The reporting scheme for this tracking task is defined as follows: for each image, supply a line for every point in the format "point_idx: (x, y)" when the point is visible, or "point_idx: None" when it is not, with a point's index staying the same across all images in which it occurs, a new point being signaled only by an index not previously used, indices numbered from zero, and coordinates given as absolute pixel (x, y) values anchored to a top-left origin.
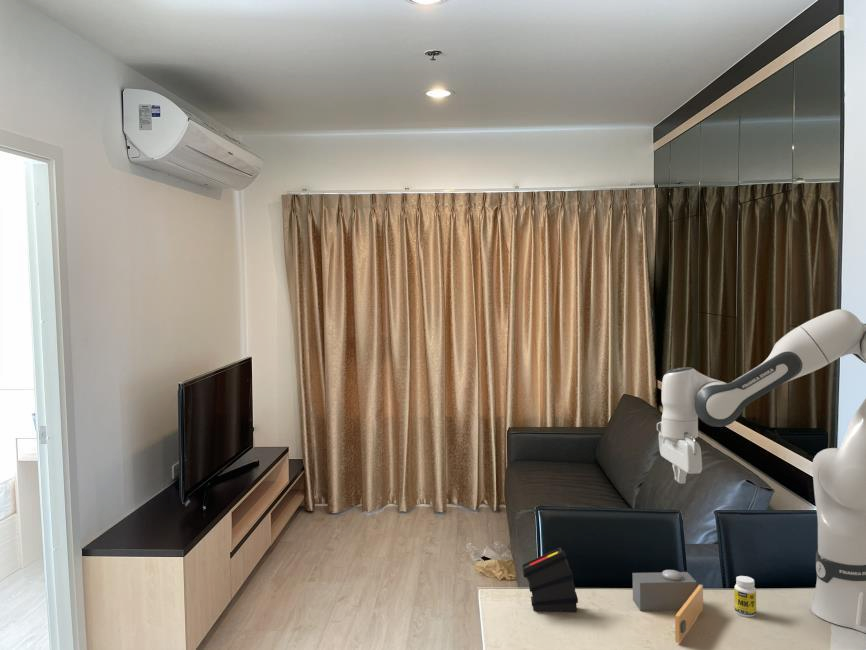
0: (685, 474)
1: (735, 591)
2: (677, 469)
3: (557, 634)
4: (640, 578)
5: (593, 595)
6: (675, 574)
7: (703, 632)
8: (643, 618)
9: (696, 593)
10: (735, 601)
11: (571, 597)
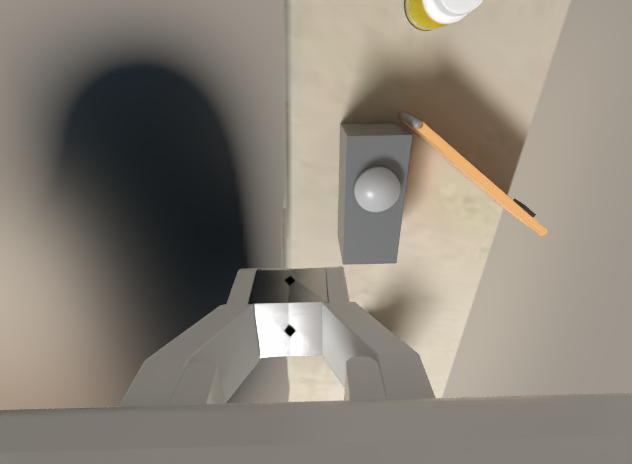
0: (378, 331)
1: (443, 24)
2: (221, 378)
3: (435, 352)
4: (373, 256)
5: None
6: (385, 184)
7: (485, 147)
8: (411, 236)
9: (462, 156)
10: (433, 28)
11: None
